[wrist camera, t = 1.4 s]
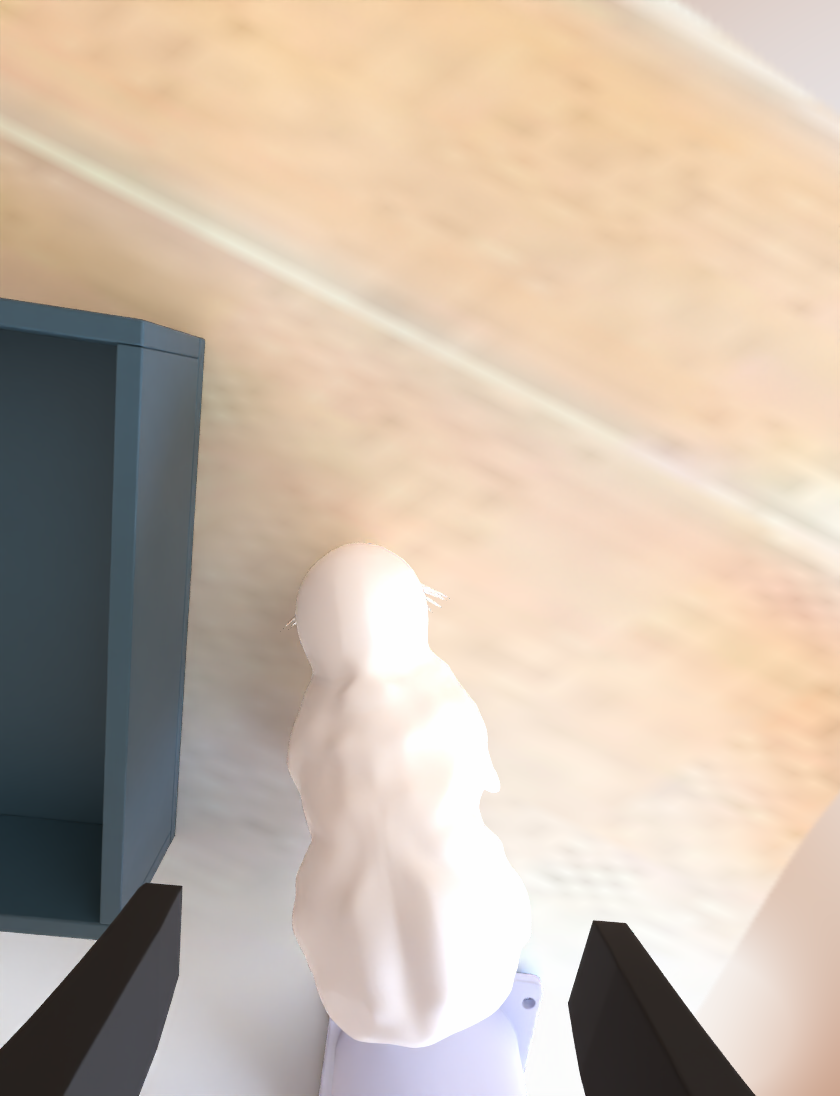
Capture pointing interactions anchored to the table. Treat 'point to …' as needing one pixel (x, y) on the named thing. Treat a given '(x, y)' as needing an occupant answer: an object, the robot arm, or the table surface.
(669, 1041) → the robot arm
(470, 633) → the table surface
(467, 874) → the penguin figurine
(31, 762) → the bin
